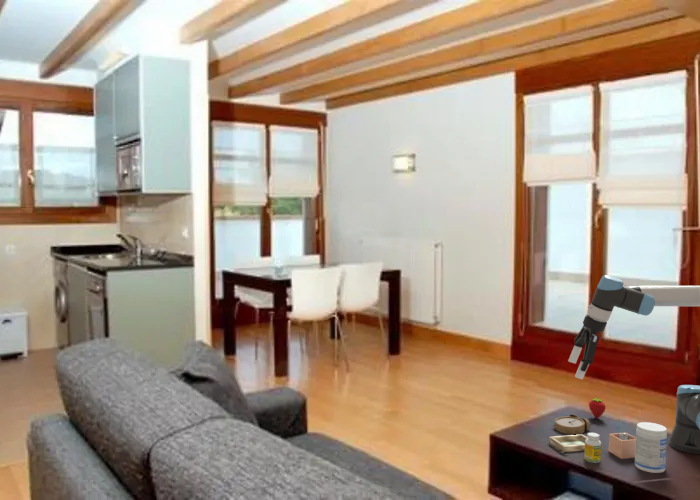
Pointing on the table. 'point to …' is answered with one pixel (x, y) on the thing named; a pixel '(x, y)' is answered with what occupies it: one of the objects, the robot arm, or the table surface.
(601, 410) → the strawberry
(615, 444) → the pink open box
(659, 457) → the supplement tub
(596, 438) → the supplement bottle
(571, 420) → the alarm clock
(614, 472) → the table surface
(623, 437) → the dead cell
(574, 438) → the wooden tray
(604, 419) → the table surface
